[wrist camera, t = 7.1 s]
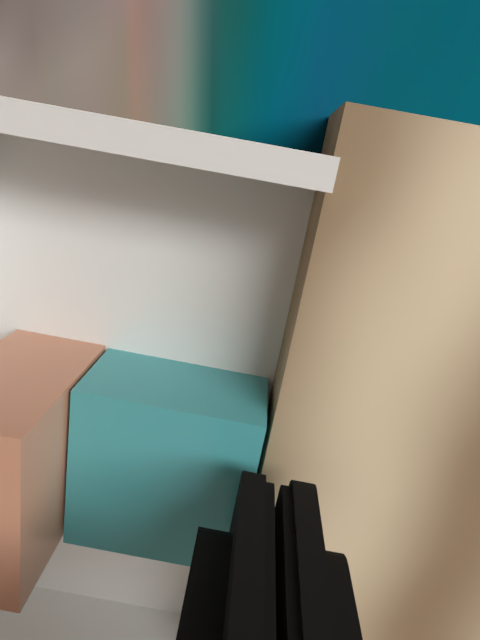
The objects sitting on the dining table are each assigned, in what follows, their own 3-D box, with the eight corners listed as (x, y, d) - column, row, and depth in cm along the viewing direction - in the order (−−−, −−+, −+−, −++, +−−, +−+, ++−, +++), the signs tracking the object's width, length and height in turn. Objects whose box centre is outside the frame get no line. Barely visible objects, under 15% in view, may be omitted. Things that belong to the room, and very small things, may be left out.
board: (831, 206, 10) (992, 218, 8) (534, 699, 16) (577, 787, 14) (329, 115, 11) (346, 101, 8) (215, 638, 17) (206, 716, 14)
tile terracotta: (20, 439, 8) (-113, 414, 8) (19, 613, 10) (-94, 592, 10) (105, 345, 12) (17, 329, 12) (95, 476, 14) (16, 462, 14)
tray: (319, 159, 11) (340, 157, 8) (219, 619, 16) (206, 735, 13) (-41, 94, 11) (-174, 64, 8) (-22, 573, 16) (-97, 677, 13)
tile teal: (267, 377, 12) (267, 427, 10) (240, 505, 14) (233, 574, 12) (108, 348, 12) (70, 390, 10) (98, 478, 14) (63, 542, 12)
